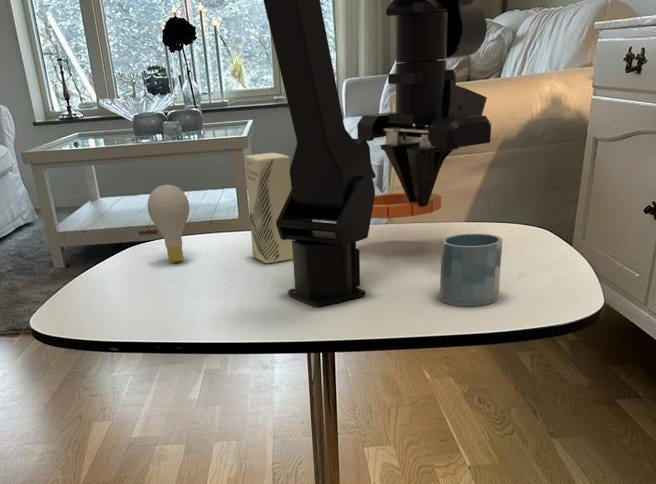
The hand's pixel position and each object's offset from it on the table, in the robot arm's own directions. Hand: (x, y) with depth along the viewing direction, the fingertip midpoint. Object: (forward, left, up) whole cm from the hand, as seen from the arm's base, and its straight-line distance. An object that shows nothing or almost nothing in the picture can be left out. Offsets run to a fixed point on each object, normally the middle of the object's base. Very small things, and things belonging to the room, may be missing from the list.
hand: (418, 205), depth 93 cm
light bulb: (-25, +21, -6) cm, 33 cm away
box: (-14, +13, -6) cm, 20 cm away
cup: (-7, -18, -6) cm, 20 cm away
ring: (0, +5, -1) cm, 5 cm away
